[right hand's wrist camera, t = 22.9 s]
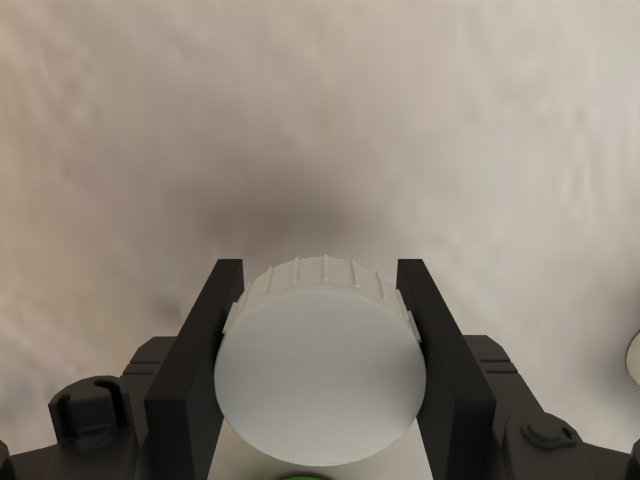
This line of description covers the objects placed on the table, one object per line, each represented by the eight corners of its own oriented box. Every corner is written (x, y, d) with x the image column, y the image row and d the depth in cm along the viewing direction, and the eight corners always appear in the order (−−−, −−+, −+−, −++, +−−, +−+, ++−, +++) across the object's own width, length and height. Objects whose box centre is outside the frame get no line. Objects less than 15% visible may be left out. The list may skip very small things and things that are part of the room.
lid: (205, 387, 13) (187, 438, 11) (257, 226, 11) (246, 256, 9) (371, 433, 14) (379, 490, 12) (445, 288, 12) (467, 327, 10)
